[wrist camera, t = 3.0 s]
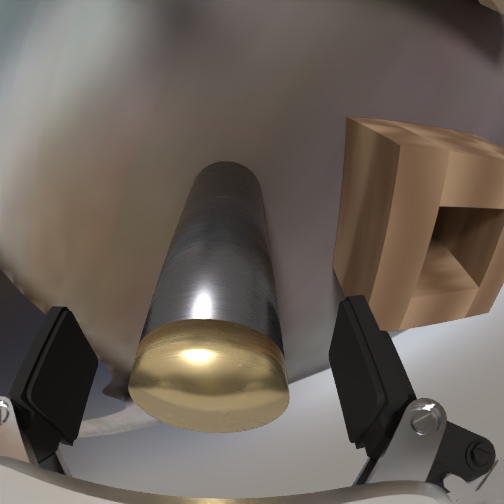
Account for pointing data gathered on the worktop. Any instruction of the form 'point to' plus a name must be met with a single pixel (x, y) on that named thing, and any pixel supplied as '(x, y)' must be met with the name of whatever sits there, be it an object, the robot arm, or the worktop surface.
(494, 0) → the hammer
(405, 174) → the socket block
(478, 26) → the worktop surface
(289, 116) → the worktop surface
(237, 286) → the dark grey capped cylinder
